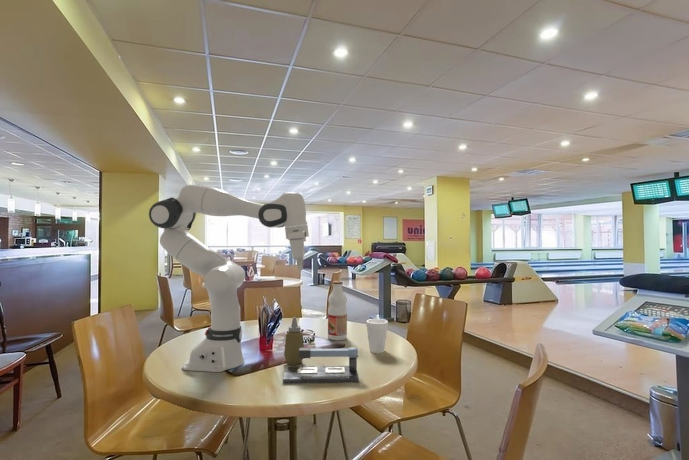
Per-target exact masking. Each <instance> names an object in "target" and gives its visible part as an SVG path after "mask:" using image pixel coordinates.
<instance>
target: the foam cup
mask: <svg viewBox="0 0 689 460" xmlns="http://www.w3.org/2000/svg"><path fill="white" fill-rule="evenodd" d="M365 323H366V324H365V325H366V326H365V327H366V329H367V332H366V333H367V339H368V347H369V352H371V353H374V354H382V353H384V352H385V349H386V348H385V347H386V339H387V332H388V327H389V321H388V320H387V319H383V318H382V319H381V318H370V319H367V320H366V321H365Z"/></svg>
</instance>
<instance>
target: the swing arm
mask: <svg viewBox="0 0 689 460" xmlns="http://www.w3.org/2000/svg"><path fill="white" fill-rule="evenodd" d="M358 356H359V348H357V347H347V348H311V347H304V348H300V349H299V358H303V359H311V358H333V357H337V358H338V357H344V358H345V357H346V358H347V357H348V358H349V357H350V358H356V357H357V358H358Z"/></svg>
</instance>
